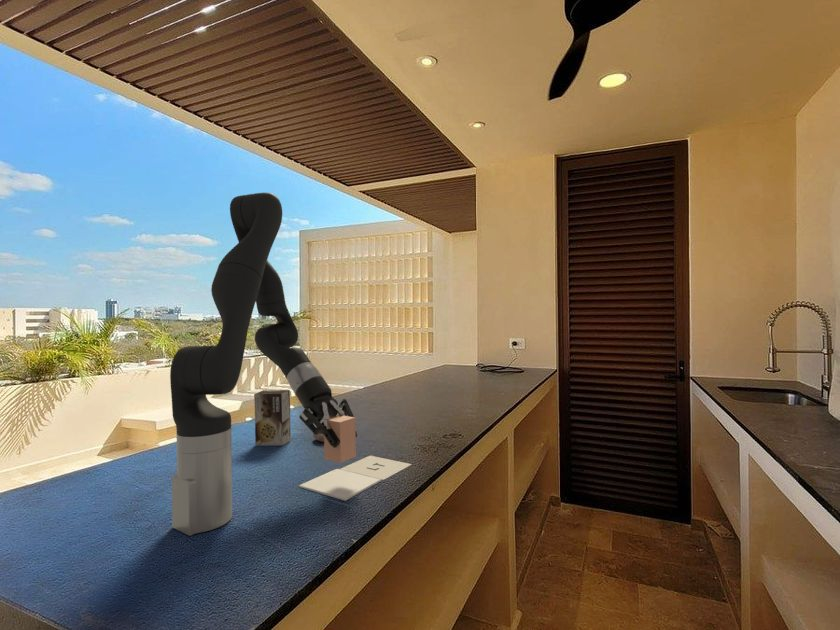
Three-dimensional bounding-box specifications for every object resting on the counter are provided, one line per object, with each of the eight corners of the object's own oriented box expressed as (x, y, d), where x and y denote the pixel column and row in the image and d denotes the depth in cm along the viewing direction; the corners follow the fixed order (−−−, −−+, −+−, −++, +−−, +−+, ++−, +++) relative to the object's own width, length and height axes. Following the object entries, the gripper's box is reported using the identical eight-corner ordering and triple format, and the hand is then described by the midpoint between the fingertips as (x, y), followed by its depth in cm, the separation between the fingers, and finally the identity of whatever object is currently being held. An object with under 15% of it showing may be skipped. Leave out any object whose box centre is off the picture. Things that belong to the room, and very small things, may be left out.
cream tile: (383, 480, 96) (383, 479, 96) (339, 469, 104) (339, 469, 104) (411, 464, 106) (411, 464, 106) (370, 456, 114) (370, 455, 114)
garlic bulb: (329, 444, 126) (329, 418, 126) (307, 443, 128) (307, 417, 128) (339, 437, 133) (339, 413, 134) (318, 436, 135) (318, 412, 135)
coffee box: (291, 440, 131) (290, 389, 132) (282, 446, 125) (282, 393, 125) (264, 439, 132) (263, 389, 132) (254, 445, 126) (253, 393, 126)
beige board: (345, 501, 85) (345, 498, 85) (299, 487, 93) (299, 485, 93) (380, 481, 95) (380, 479, 95) (336, 471, 103) (336, 468, 103)
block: (340, 462, 91) (340, 422, 91) (324, 459, 94) (323, 419, 94) (355, 456, 95) (355, 417, 95) (339, 452, 98) (339, 415, 98)
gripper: (292, 379, 93) (331, 440, 86) (337, 371, 105) (375, 424, 98) (277, 400, 95) (314, 461, 89) (322, 390, 107) (358, 443, 101)
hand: (346, 441), depth 93 cm, fingers closed on block, 5 cm apart
